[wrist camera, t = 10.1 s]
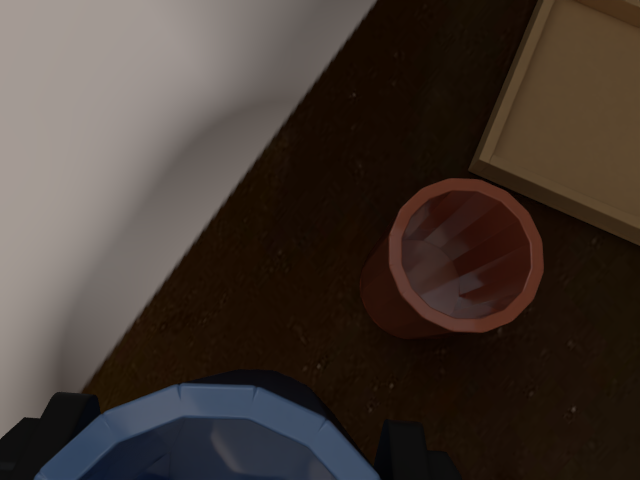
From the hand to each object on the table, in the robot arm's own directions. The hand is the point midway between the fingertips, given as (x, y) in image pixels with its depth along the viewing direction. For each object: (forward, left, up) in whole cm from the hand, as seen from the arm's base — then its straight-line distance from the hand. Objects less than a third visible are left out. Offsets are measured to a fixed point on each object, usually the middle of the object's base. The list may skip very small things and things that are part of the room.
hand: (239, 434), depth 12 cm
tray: (+13, +22, -18) cm, 31 cm away
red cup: (+5, +8, -18) cm, 20 cm away
